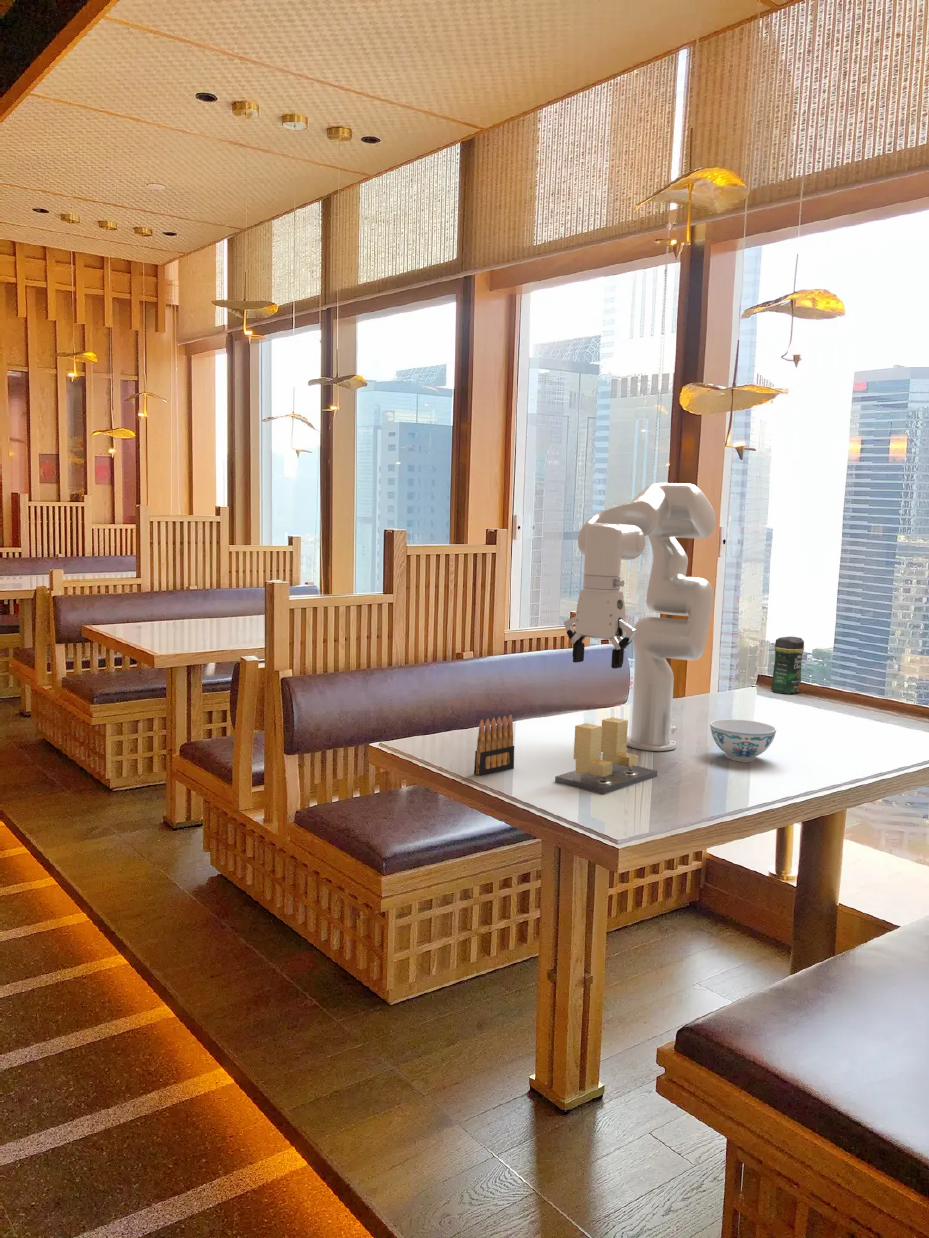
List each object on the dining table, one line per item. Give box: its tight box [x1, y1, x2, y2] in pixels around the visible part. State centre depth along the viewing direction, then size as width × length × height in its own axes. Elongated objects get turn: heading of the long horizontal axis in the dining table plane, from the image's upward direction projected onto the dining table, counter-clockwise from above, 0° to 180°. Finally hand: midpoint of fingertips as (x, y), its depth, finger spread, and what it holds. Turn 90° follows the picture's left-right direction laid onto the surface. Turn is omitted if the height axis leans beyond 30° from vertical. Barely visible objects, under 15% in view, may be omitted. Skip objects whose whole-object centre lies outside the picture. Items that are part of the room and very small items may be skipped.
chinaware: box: [709, 718, 777, 763], centre depth 232 cm, size 15×15×8 cm
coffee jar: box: [770, 636, 805, 695], centre depth 325 cm, size 10×8×19 cm
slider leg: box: [601, 717, 639, 771], centre depth 211 cm, size 4×7×10 cm, turn 49°
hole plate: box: [554, 722, 658, 795], centre depth 209 cm, size 21×12×12 cm, turn 139°
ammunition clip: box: [473, 714, 515, 777], centre depth 212 cm, size 11×2×12 cm, turn 134°
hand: (597, 664), depth 208 cm, fingers open, 9 cm apart
